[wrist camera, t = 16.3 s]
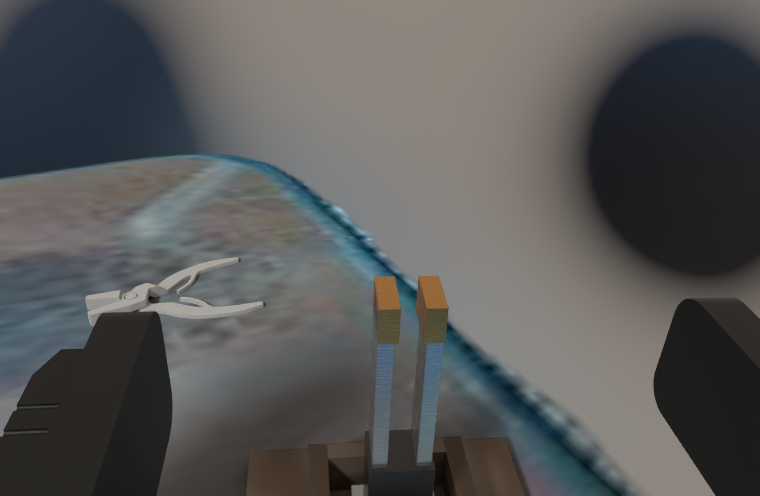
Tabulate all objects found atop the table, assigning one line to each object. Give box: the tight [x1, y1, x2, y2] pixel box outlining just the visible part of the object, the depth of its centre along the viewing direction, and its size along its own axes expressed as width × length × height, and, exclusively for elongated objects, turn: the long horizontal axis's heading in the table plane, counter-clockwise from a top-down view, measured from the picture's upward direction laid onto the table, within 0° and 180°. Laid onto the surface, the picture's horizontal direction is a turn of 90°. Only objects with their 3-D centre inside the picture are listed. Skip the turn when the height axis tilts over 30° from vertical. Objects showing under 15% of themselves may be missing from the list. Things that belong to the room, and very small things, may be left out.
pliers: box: [85, 257, 264, 326], centre depth 62 cm, size 10×2×15 cm
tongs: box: [351, 276, 449, 496], centre depth 35 cm, size 5×4×18 cm
